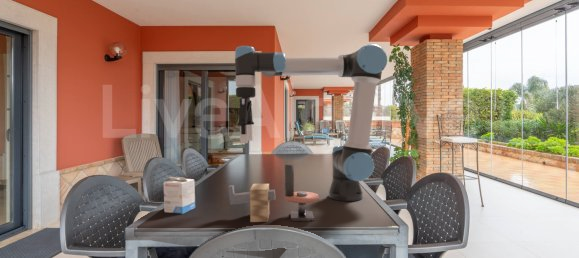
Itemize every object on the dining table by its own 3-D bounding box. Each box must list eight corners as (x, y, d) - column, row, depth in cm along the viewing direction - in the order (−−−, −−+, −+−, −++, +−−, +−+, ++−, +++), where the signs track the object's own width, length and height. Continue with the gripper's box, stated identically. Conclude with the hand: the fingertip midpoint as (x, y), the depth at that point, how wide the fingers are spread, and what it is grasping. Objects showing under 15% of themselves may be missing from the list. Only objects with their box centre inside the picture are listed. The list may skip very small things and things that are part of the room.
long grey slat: (275, 197, 118) (273, 180, 118) (275, 200, 115) (273, 182, 114) (231, 202, 118) (229, 185, 118) (230, 204, 115) (228, 186, 114)
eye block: (269, 213, 122) (269, 183, 121) (267, 221, 112) (267, 189, 111) (253, 213, 121) (253, 183, 121) (250, 222, 111) (250, 189, 111)
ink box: (195, 208, 129) (195, 174, 128) (182, 214, 121) (181, 178, 120) (177, 206, 132) (177, 173, 131) (163, 212, 124) (162, 177, 123)
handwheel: (317, 194, 122) (317, 162, 122) (320, 203, 110) (320, 167, 110) (285, 194, 122) (284, 162, 122) (284, 203, 110) (284, 167, 110)
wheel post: (312, 213, 121) (312, 196, 120) (314, 220, 113) (314, 202, 112) (290, 213, 121) (290, 196, 120) (291, 220, 113) (290, 202, 112)
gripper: (241, 90, 138) (242, 139, 139) (229, 84, 113) (230, 144, 114) (258, 89, 138) (259, 139, 139) (250, 83, 113) (252, 144, 114)
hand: (246, 141), depth 127 cm, fingers open, 13 cm apart
